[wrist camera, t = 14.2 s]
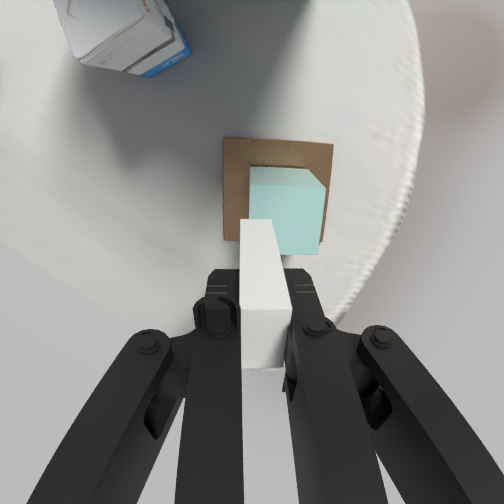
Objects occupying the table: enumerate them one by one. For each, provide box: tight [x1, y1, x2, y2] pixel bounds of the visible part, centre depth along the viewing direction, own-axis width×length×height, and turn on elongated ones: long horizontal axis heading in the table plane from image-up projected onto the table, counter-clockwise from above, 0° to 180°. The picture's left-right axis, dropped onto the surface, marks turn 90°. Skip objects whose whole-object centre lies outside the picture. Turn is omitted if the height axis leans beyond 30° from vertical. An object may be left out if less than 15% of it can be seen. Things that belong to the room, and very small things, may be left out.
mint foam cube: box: [249, 167, 326, 255], centre depth 23 cm, size 5×5×7 cm
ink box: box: [53, 0, 191, 78], centre depth 14 cm, size 9×5×12 cm, turn 24°
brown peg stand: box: [223, 138, 334, 242], centre depth 23 cm, size 10×10×7 cm
